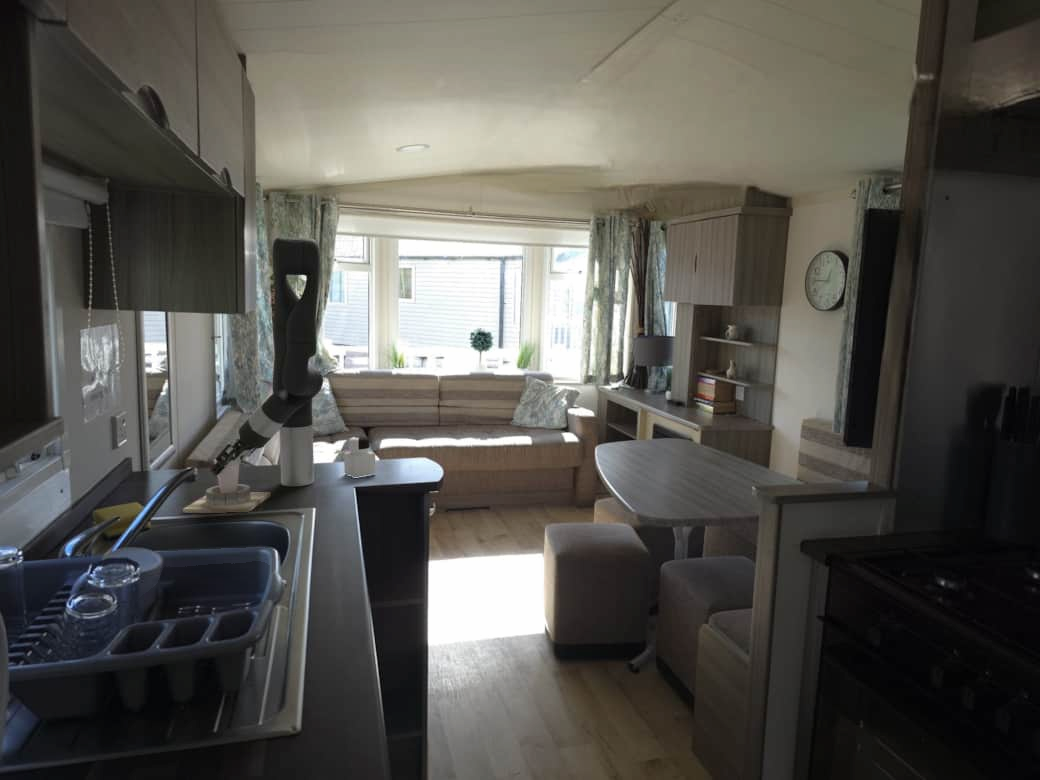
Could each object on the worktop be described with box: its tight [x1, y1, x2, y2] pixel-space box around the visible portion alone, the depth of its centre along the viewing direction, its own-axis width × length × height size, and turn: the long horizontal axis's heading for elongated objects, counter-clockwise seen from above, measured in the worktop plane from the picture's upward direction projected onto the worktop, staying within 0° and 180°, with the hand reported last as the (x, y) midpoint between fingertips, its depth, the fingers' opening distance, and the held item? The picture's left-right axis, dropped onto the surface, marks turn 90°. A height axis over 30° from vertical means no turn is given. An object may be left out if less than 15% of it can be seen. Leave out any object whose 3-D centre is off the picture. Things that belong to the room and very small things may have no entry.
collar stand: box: [182, 483, 272, 514], centre depth 174 cm, size 16×16×4 cm
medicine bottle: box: [343, 435, 376, 477], centre depth 206 cm, size 7×7×12 cm
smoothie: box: [213, 441, 242, 493], centre depth 173 cm, size 6×6×14 cm
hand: (222, 469), depth 174 cm, fingers closed on smoothie, 6 cm apart
